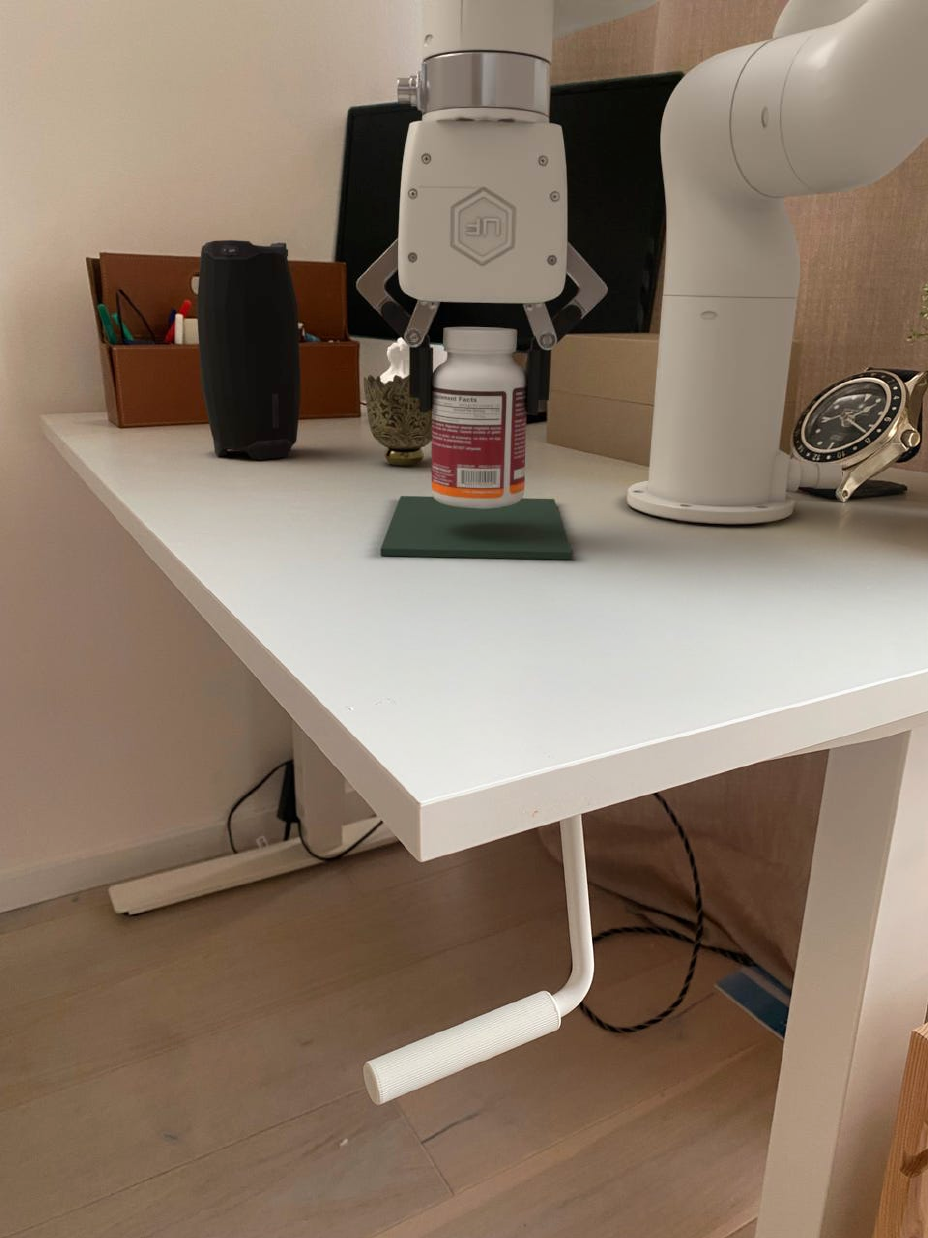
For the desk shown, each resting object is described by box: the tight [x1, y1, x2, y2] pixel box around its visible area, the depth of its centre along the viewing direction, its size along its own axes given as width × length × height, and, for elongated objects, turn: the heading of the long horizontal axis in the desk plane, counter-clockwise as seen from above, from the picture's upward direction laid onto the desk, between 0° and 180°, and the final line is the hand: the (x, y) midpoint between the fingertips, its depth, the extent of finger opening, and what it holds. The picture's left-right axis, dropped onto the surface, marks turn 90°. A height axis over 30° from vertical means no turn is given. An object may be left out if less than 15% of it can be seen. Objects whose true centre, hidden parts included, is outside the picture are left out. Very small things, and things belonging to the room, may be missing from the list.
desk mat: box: [379, 495, 573, 560], centre depth 69 cm, size 12×16×1 cm
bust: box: [380, 337, 409, 385], centre depth 119 cm, size 12×8×11 cm
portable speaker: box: [196, 239, 301, 461], centre depth 94 cm, size 9×9×20 cm
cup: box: [363, 374, 432, 467], centre depth 92 cm, size 8×7×8 cm
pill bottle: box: [431, 326, 527, 509], centre depth 64 cm, size 6×6×11 cm
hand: (478, 408), depth 64 cm, fingers closed on pill bottle, 6 cm apart
